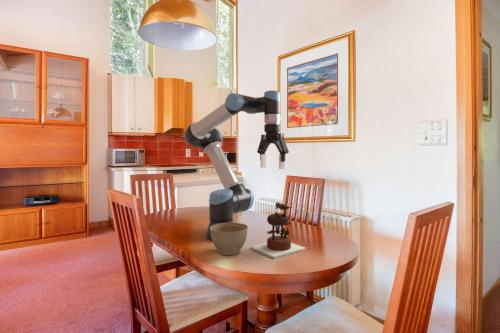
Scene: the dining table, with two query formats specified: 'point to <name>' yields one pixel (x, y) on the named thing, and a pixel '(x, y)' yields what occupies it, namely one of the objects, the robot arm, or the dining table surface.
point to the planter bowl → (229, 237)
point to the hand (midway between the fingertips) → (272, 168)
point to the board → (276, 254)
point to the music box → (279, 220)
